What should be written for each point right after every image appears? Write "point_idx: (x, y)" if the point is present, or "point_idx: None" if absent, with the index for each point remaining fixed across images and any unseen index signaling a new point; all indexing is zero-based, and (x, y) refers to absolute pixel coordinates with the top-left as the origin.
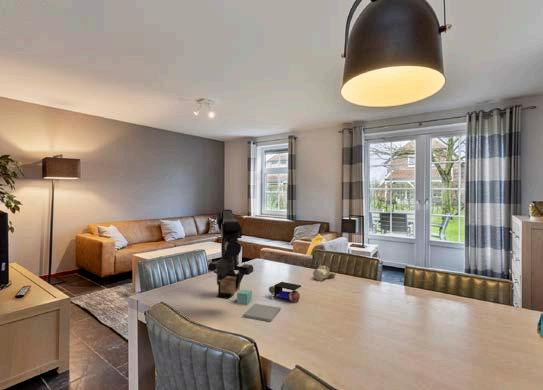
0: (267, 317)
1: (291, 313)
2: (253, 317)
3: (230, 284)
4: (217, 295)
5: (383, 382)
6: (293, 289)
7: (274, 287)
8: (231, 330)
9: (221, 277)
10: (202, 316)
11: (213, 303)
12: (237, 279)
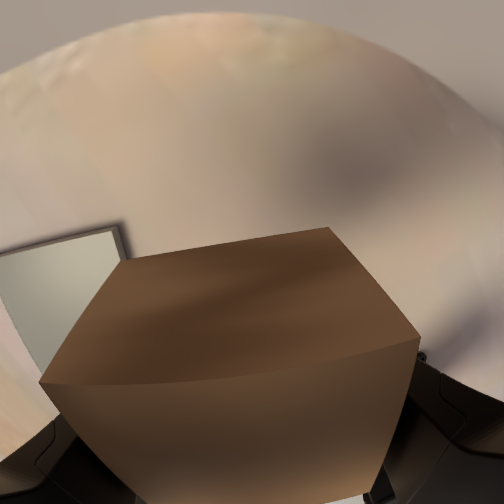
0: (4, 270)
1: (8, 361)
2: (55, 241)
3: (122, 334)
4: (423, 360)
5: None
6: None
7: None
8: (74, 50)
9: (435, 419)
10: (364, 95)
11: (407, 287)
12: (42, 455)
